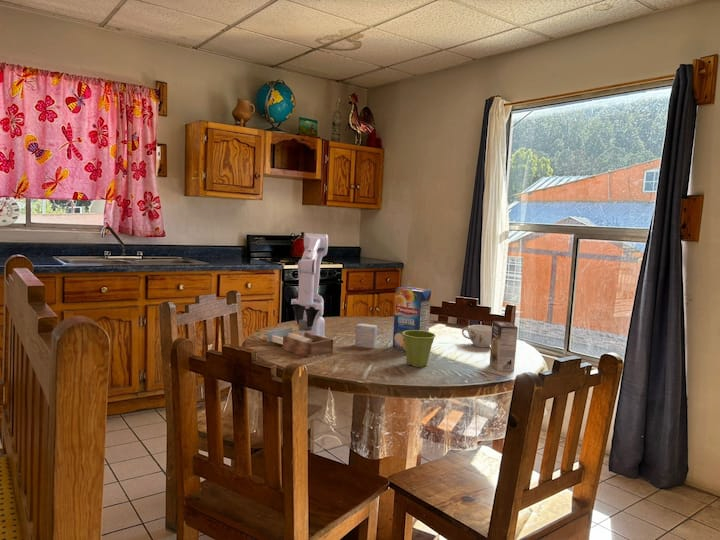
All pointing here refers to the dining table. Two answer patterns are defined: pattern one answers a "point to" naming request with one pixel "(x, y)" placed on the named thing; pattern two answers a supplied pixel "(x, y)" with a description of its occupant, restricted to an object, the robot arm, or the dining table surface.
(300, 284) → the robot arm
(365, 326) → the medicine box
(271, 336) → the tray
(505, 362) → the coffee box
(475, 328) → the teacup
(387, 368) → the dining table surface
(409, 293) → the juice carton
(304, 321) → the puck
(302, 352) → the shallow wooden crate
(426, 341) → the plant pot
